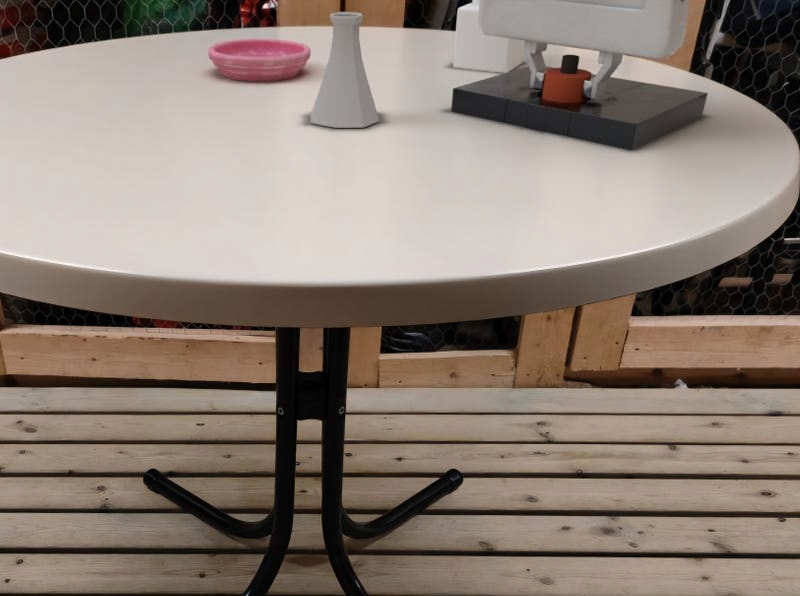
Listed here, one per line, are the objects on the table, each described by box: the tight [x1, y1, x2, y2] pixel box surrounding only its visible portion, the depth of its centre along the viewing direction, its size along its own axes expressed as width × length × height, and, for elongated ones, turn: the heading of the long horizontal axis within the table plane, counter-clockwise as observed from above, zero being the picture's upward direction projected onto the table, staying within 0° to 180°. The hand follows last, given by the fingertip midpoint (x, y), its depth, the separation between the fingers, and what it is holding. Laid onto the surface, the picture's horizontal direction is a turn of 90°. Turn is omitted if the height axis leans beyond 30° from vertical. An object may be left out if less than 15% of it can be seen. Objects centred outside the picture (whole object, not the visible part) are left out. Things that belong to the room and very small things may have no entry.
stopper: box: [542, 54, 593, 103], centre depth 82 cm, size 4×4×6 cm
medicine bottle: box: [452, 0, 525, 74], centre depth 103 cm, size 7×7×12 cm
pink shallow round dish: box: [207, 38, 311, 82], centre depth 102 cm, size 12×12×3 cm
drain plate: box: [450, 65, 708, 151], centre depth 86 cm, size 20×16×2 cm
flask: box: [310, 11, 380, 129], centre depth 82 cm, size 7×7×10 cm
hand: (565, 94), depth 83 cm, fingers closed on stopper, 4 cm apart
